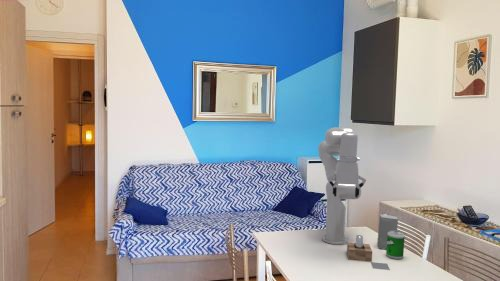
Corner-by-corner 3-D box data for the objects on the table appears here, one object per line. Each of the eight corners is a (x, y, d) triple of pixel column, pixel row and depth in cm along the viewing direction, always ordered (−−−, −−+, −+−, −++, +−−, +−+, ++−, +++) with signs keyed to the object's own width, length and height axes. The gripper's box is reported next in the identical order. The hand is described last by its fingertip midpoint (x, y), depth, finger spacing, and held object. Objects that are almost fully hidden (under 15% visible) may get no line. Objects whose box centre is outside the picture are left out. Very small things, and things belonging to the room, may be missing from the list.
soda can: (402, 255, 184) (403, 230, 183) (404, 261, 177) (405, 235, 176) (385, 253, 186) (387, 228, 185) (386, 259, 179) (388, 233, 178)
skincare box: (378, 248, 193) (380, 217, 191) (377, 244, 200) (378, 213, 198) (396, 250, 191) (398, 218, 189) (394, 245, 198) (396, 215, 196)
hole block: (346, 252, 186) (347, 242, 186) (368, 254, 184) (369, 244, 184) (348, 260, 176) (349, 249, 176) (371, 262, 175) (372, 251, 174)
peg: (354, 255, 182) (355, 234, 181) (361, 256, 182) (362, 235, 181) (355, 258, 179) (356, 236, 178) (362, 258, 179) (363, 237, 178)
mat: (370, 262, 174) (370, 262, 174) (387, 264, 173) (387, 263, 173) (372, 269, 167) (372, 268, 167) (390, 270, 166) (390, 269, 166)
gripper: (365, 159, 182) (363, 195, 184) (327, 157, 184) (325, 193, 185) (368, 161, 174) (366, 199, 176) (329, 160, 176) (327, 197, 178)
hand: (345, 196), depth 181 cm, fingers open, 9 cm apart
